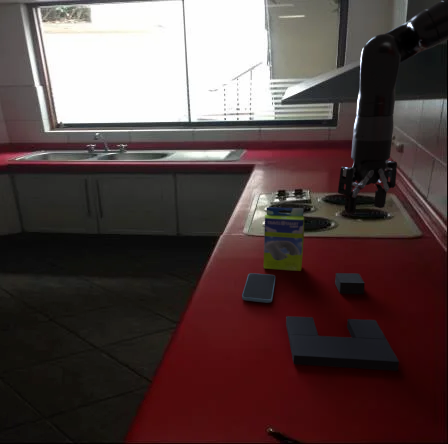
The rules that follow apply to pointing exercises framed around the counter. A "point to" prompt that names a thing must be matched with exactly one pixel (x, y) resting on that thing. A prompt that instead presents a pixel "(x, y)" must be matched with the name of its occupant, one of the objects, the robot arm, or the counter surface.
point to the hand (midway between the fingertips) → (364, 209)
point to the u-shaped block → (340, 345)
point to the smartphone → (259, 288)
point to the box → (283, 239)
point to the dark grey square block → (349, 283)
